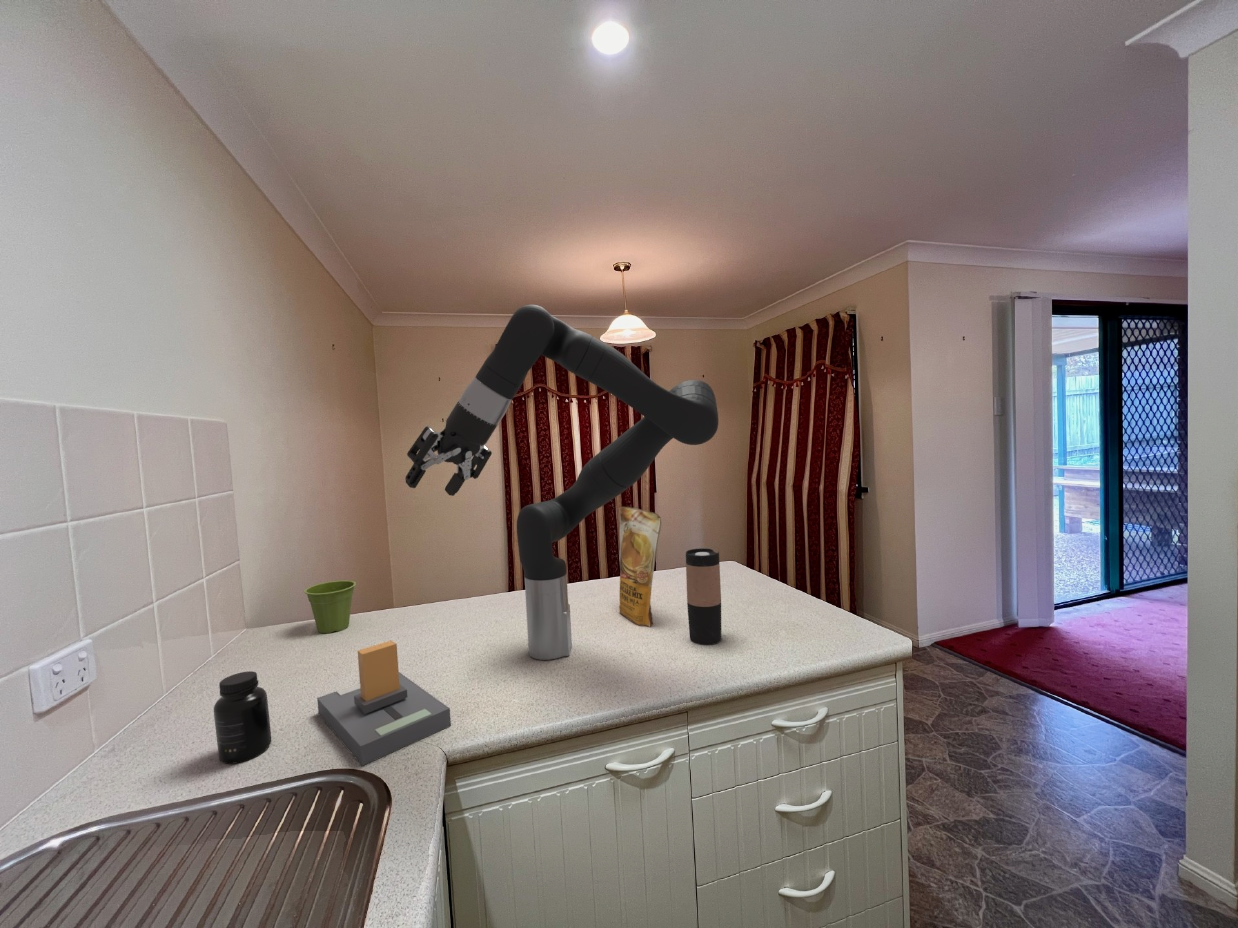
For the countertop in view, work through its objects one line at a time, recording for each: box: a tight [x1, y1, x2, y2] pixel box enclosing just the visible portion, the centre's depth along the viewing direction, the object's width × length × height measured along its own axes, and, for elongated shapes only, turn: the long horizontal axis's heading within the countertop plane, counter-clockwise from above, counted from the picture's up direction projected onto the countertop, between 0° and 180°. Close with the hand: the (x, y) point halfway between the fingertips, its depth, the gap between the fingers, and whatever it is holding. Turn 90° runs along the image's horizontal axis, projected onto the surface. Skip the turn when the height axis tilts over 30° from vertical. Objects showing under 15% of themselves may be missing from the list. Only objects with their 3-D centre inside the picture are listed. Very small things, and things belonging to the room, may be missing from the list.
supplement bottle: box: [213, 670, 272, 765], centre depth 81 cm, size 7×7×12 cm
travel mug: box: [685, 547, 722, 646], centre depth 117 cm, size 8×8×20 cm
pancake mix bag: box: [618, 506, 662, 627], centre depth 133 cm, size 7×19×28 cm, turn 25°
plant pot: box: [303, 579, 357, 634], centre depth 136 cm, size 12×12×11 cm
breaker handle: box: [354, 640, 407, 714], centre depth 89 cm, size 5×7×9 cm
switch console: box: [316, 671, 452, 767], centre depth 89 cm, size 22×14×3 cm, turn 45°
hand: (430, 489), depth 89 cm, fingers open, 8 cm apart
